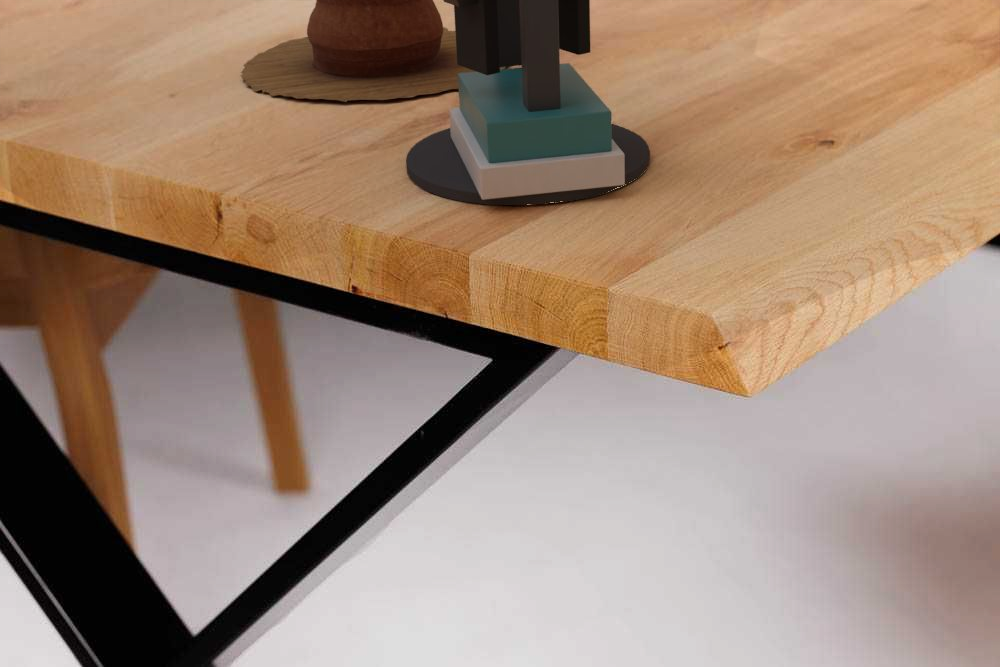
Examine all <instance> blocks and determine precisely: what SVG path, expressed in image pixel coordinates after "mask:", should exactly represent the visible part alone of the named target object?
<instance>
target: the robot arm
mask: <svg viewBox="0 0 1000 667" xmlns="http://www.w3.org/2000/svg"><path fill="white" fill-rule="evenodd" d="M442 1H443V3H446V4H450V5H452V6H453V12H454V14H453V15H454V27H455V28H454V31H455V32H456V50H457V65H460V66H463V67H466V68H468V69H471V70H474V71H477V72H479V73H482V74H485V75H491V74H496V73H500V62H499V39H498V16H497V0H442ZM590 2H591V0H558V18H559V50H561V51H565V52H567V53H571V54H573V55H577V56H581V55H584V54H585V55H586V54H589V53H591V6H590V5H591V4H590Z"/></svg>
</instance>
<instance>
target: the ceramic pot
mask: <svg viewBox="0 0 1000 667" xmlns="http://www.w3.org/2000/svg"><path fill="white" fill-rule="evenodd" d="M307 23H308V24H307V27H306V36H305V37H302V38H295V39H289V40H288V41H285V42H282V43H278V44H277V45H276V46H274V47H271V48H268V49H267V50H265V51H263V52H259V53H257V54H256V55H254V57H252V58H251V59H249V60H247V61H246V62H245V63H244V64H243V65H242V66H243V69H242V71H241V72H240V73H241V79H242V80H243V81H245V82H244V84H245V85H246V86H248V87H250V88H251V89H252V91H254V92H255V93H257V92H259V91H261V92H262V93H267V94H269V95H270V96H271V97H275V96H283V97H292V98H294V99H297V100H299V99H301V100H302V99H308V100H321V99H322V100H328V101H339V102H344V103H347V102H348V101H358V100H359V101H361V100H364V101H365V100H366V101H372V100H373V101H375V100H376V101H386V100H393V99H409V98H415V97H417V96H421V95H432V94H439V93H441V92H445V91H446V92H447V91H450V90H459V88H458V74H459V73H468V72H477V71H474V70H471V69H468V68H466V67H463V66H460V65H457V50H456V32H455V30H449V29H448V28H447V27H444V24H443V20H442V17H441V13H440V12H439V10H438V8H437V6H436V3H435V2H434V0H316V1H315V6H314V8H313V9H312V11H311V13H310V16H309V19H308V22H307ZM501 69H506V67H500V70H501Z"/></svg>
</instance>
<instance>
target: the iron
mask: <svg viewBox="0 0 1000 667" xmlns="http://www.w3.org/2000/svg"><path fill="white" fill-rule="evenodd" d="M497 16H498V39H499V62H500V67H505V69H501V70H500V73H496V74H491V75H485V74H482V73H479V72H468V73H459V74H458V88H459V89H458V101H459V102H458V103H459V104H458V105H459V106H456V107H453V108H452V107H451V108H449V109H448V113H449V116H448V117H449V128H450V132H451V138H452V140H453V142H454V144H455V146H456V148H457V150H458V152H459V154H460V156H461V158H462V160H463V162H464V164H465V166H466V168H467V170H468V172H469V174H470V176H471V178H472V180H473V182H474V184H475V186H476V188H477V190H478V192H479V194H480V196H481V198H482V200H485V199H494V198H504V197H514V196H523V195H533V194H542V193H552V192H561V191H571V190H581V189H590V188H600V187H609V186H619V185H624V184H625V155H624V153H623V152H622V151H621V149H620V148H619V147H618V146H617V144H616V143H615V142H614V141H613V140H612V124H613V123H612V110H611V109H610V108H609V107H608V106H607V104H606V103H604V101H603V100H602V98H600V97H599V95H598V94H596V92H595V91H594V90H593V89H592V87H590V85H589V84H588V83H587V82H586V80H584V78H583V77H582V76H581V75H580V73H579V72H578V71H577V70H576V69H575V68H574V67H573V66H572V65H571V63H569V62H568V63H561V61H560V58H561V56H560V49H559V18H558V0H497ZM520 66H521V67H520ZM508 67H513V68H508Z"/></svg>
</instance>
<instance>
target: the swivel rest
mask: <svg viewBox="0 0 1000 667" xmlns="http://www.w3.org/2000/svg"><path fill="white" fill-rule="evenodd" d="M611 124H612V140H613V141H614V142H615V143H616V144H617V146H618V147H619V148H620V149H621V151H622V152H623V153H624V155H625V184H628V183H629V182H631V181H633V180H634V179H636V178H638V177H639V176H640V175H641V174H642V173H643V172H644V171H645V170H646V169H648V168H649V166H650V162H649V161H651V150H650V146H649V144H648V143H647V141H646V140H645V139H644V138H643V137H642V136H641V135H640V134H638V133H636V132H635V131H633V130H630V129H629V128H626V127H623V126H620V125H617V124H614V123H611ZM405 165H406V166H405V168H406V173H407V176H408V178H409V179H410V181H411V182H413V183H414V185H416V186H417V187H419V189H422V190H424V191H426V192H428V193H430V194H433V195H435V196H439V197H441V198H446V199H449V200H454V201H458V202H463V203H469V204H478V205H486V206H487V205H489V206H503V205H526V206H528V205H527V204H544V205H546V204H545V203H550V202H554V203H555V202H560V201H563V203H566V202H565V201H570V202H573V201H572V200H576V201H578V200H577V199H581V200H586V199H590V198H594V197H593V196H595V197H598V196H597V195H599V196H601V195H600V194H602V195H604V194H603V193H605V194H607V193H606V192H608V191H611V190H613V189H615V188H617V187H621V186H623V185H619V186H609V187H600V188H590V189H581V190H571V191H561V192H552V193H542V194H533V195H523V196H514V197H504V198H494V199H485V200H482V198H481V196H480V194H479V192H478V190H477V188H476V186H475V184H474V182H473V180H472V178H471V176H470V174H469V172H468V170H467V168H466V166H465V164H464V162H463V160H462V158H461V156H460V154H459V152H458V150H457V148H456V146H455V144H454V142H453V140H452V138H451V132H450V127H448V128H445V129H442V130H439V131H437V132H434V133H432V134H430V135H428V136H426V137H424V138H422V139H421V140H419V141H418V142H417V143H415V144H414V145H413V146H412V147H411V148H410V149H409V151H408V152H407V154H406V157H405ZM647 167H648V168H647ZM646 171H647V170H646ZM646 171H645V172H646ZM641 176H642V175H641ZM641 176H640V177H641ZM640 177H639V178H640ZM639 178H638V179H639ZM636 180H637V179H636ZM633 182H634V181H633ZM625 184H624V185H625ZM628 185H629V184H628ZM589 197H590V198H589ZM585 198H586V199H585ZM555 204H556V203H555Z"/></svg>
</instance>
